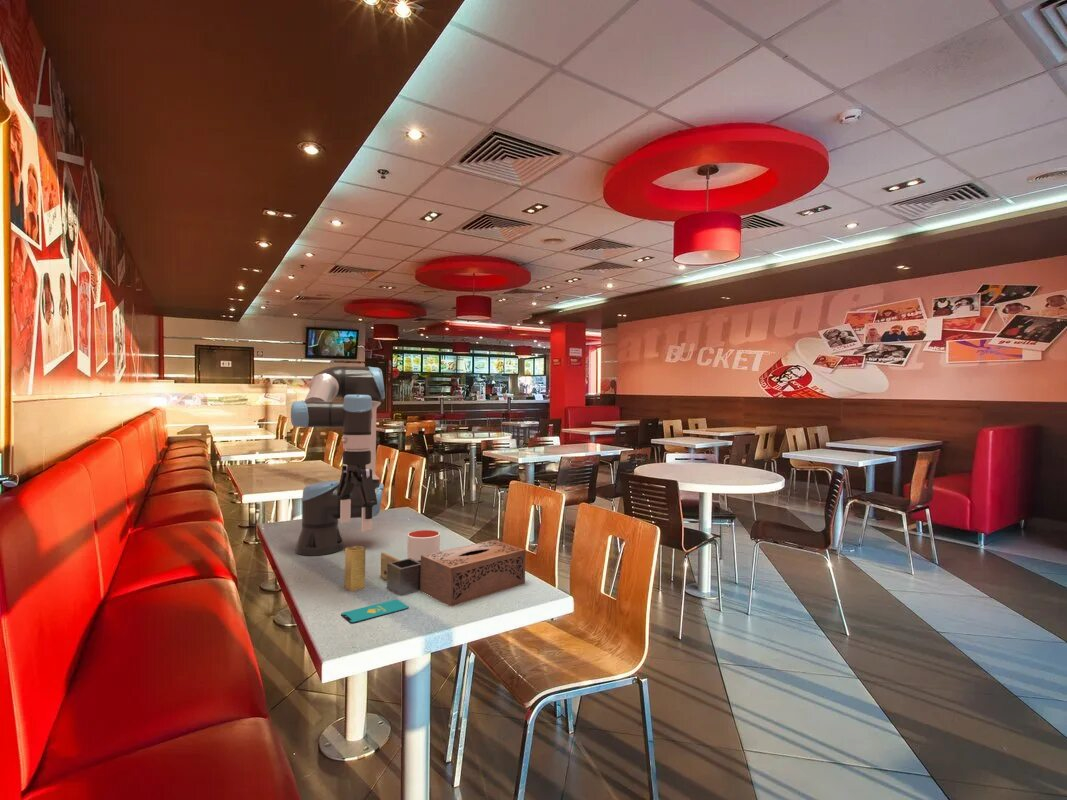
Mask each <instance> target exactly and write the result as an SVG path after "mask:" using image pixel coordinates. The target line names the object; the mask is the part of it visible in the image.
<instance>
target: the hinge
mask: <svg viewBox="0 0 1067 800" xmlns="http://www.w3.org/2000/svg"><path fill="white" fill-rule="evenodd" d="M380 578H383V579H385V580H386V589H387V590H389V591H391V592H393V593H394V594H397V595H398V596H403V595H407V594H411V593H414V591H415V592H418V591H420V579H421V560H417V561H416V560H414V559H411V558H408V559H407V558H405V559H399V558H397V557H394V556H393V555H389V554H388V553H386V552H381V553H380Z"/></svg>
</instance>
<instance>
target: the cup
mask: <svg viewBox="0 0 1067 800" xmlns="http://www.w3.org/2000/svg"><path fill="white" fill-rule="evenodd" d="M440 546H441V533H440V532H439V531H438V530H432V529H431V530H429V529H423V530H422V529H420V530H413V531H410V532H409V533H407V552H406V553H407V557H406V559H408V558H411V559H414V560H416V561H417V560H421V555H426V554H430V553H435V552H440V551H441V550H440Z"/></svg>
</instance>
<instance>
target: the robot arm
mask: <svg viewBox="0 0 1067 800" xmlns="http://www.w3.org/2000/svg"><path fill="white" fill-rule="evenodd" d="M308 389H309V391H308V393H307V394H306V396H305V399H304V400H298V401H297V400H295V401H293V402H292V404H291V407H290V422H291V425H292V426H293V427H297V428H298V427H299V428H343V430H342V431H343V433H342V438H341V442H342V448H343V452H342V464H343V465H342V466H341V474H340V478H339V481H338V480H324V481H319V482H313V483H310V484H308V485H306V486H304V488H303V489H302V496H301V497H302V499H301V502H302V504H301V505H302V507H301V511H302V513H301V515H302V516H301V517H302V518H301V531H300V533H299V536H298V538H297V541H296V545H295V552H296V554H299V555H303V556H323V555H329V554H334V553H337V552H340V551H342V550H343V549H344V541H343V538H342V534H341V532H340V527H339V522H340V524H344V523H345V524H346V523H351V519H358V518H359V519H361V532H363V533H364V532H371V531H373V518H375V517H378V515H379V514H380V512H381V506H382V501H383V500H382V498H383V493H384V487H385V485H384V483H382V482H381V481H380V479H381V478H380V477H379V476H378V475H377V473H376V458H377V455H376V454H377V453H376V451H377V450H376V449H377V409H378V407H380V405H381V404H382V400H384V399H386V393H385V384H384V376H383V371H382V369H381V368H379V367H374V366H354V365H353V366H347V365H346V366H344V365H335V366H330V367H327V368H324V369H323V370H321V371H319V372H317V373H316V374H315V375H313V377H311V379H310V382H309V385H308ZM333 399H343V401H333Z"/></svg>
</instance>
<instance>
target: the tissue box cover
mask: <svg viewBox="0 0 1067 800" xmlns="http://www.w3.org/2000/svg"><path fill="white" fill-rule="evenodd" d="M525 584H526V549H524V548H521V547H518V546H514V545H511V544H508V543H505V542H501V541H500V540H496V539H492V540H488V541H487V540H486V541H482V542H478V543H474V544H473V543H472V544H469V545H462V546H459V547H454V548H450V549H445V550H440V552H435V553H430V554H426V555H421V579H420V590H419V591H420V592H421V593H423V592H424V593H423V594H425V593H426V594H425V595H427V594H428V595H427V596H429V595H430V596H429V597H431V596H432V597H431V598H433V599H434V600H438V601H439V602H441V603H443V604H445V605H447V606H449V607H453V606H456V605H459V604H460V605H461V604H463V603H466V602H468V601H469V602H470V601H472V600H475V599H476V600H477V599H479V598H482V597H486V596H489V595H492V594H496V593H499V592H502V591H505V590H509V589H512V588H515V587H519V586H522V585H525Z"/></svg>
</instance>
